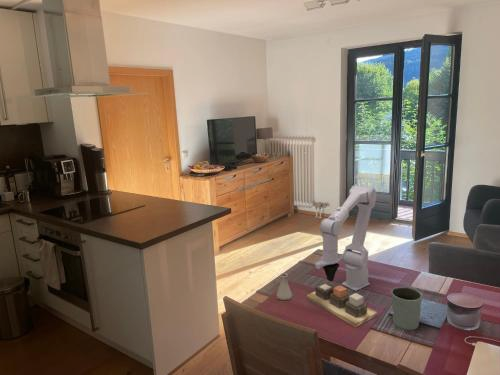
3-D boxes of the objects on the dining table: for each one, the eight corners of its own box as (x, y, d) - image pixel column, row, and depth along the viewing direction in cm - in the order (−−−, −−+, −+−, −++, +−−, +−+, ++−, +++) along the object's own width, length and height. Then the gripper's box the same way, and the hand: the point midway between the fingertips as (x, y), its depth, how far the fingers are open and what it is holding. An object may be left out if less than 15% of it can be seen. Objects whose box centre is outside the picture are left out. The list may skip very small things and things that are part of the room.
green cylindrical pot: (417, 334, 127) (419, 303, 124) (387, 326, 132) (388, 296, 130) (422, 319, 135) (424, 289, 133) (393, 312, 141) (394, 283, 138)
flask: (292, 301, 152) (291, 279, 150) (274, 300, 153) (274, 278, 151) (293, 292, 159) (293, 271, 157) (277, 291, 160) (276, 270, 158)
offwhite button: (325, 290, 155) (325, 283, 154) (331, 293, 152) (331, 287, 151) (319, 293, 153) (319, 286, 152) (325, 296, 150) (325, 289, 149)
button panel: (326, 289, 160) (326, 278, 159) (377, 315, 139) (377, 303, 138) (306, 298, 154) (306, 287, 153) (355, 327, 133) (356, 315, 131)
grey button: (355, 300, 141) (355, 293, 140) (363, 304, 138) (363, 296, 138) (349, 303, 139) (349, 296, 139) (356, 307, 136) (356, 299, 136)
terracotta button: (339, 291, 148) (339, 285, 147) (346, 295, 145) (346, 288, 144) (333, 294, 146) (333, 288, 145) (340, 298, 143) (340, 291, 142)
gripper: (335, 241, 152) (335, 271, 155) (309, 250, 145) (310, 281, 148) (349, 246, 147) (348, 277, 150) (322, 255, 139) (322, 288, 142)
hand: (330, 280), depth 148 cm, fingers closed
